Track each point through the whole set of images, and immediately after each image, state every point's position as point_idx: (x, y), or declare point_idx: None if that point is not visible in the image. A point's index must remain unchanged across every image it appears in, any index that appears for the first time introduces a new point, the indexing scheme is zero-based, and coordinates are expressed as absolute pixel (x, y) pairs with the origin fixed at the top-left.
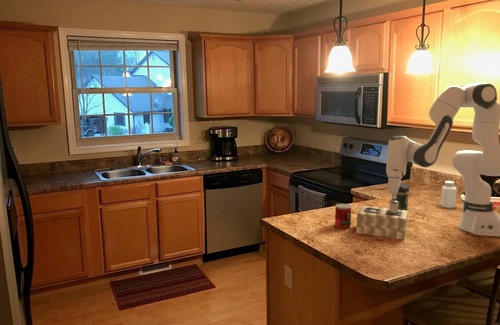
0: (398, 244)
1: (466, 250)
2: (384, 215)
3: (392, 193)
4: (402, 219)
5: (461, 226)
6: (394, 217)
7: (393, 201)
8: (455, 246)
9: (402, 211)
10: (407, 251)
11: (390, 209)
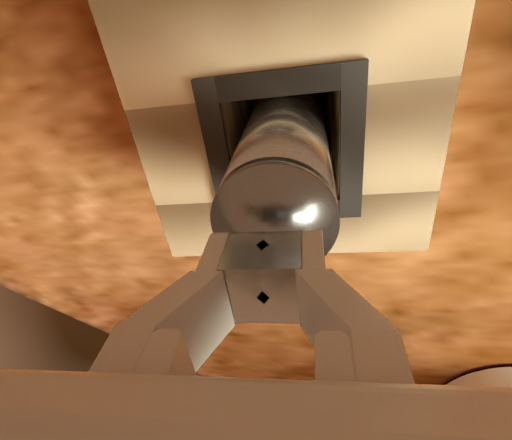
0: (121, 162)
1: (227, 363)
2: (148, 81)
3: (144, 312)
4: (169, 232)
5: (489, 382)
6: (151, 180)
7: (249, 218)
8: (247, 342)
9: (384, 216)
10: (68, 209)
11: (239, 142)
